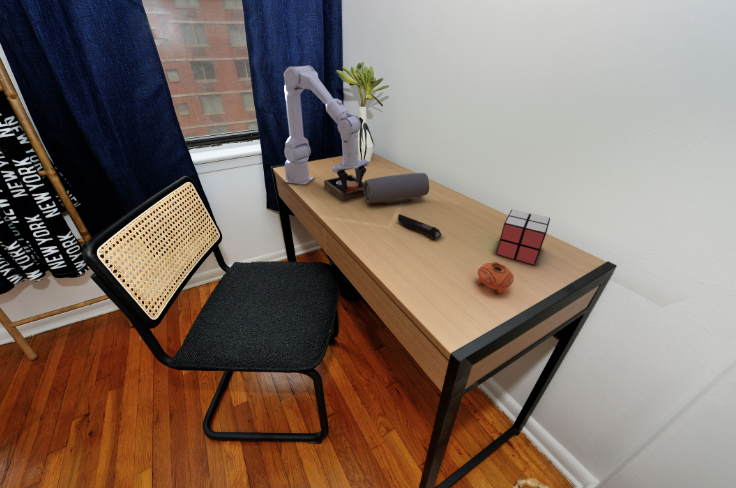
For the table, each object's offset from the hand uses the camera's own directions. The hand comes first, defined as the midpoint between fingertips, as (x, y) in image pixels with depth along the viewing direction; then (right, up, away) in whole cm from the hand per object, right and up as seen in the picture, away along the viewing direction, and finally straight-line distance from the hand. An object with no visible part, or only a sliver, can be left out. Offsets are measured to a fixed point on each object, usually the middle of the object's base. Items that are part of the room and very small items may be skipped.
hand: (351, 187), depth 119 cm
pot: (+36, -32, -44) cm, 66 cm away
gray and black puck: (-4, +1, +7) cm, 8 cm away
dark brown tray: (-2, -1, +4) cm, 5 cm away
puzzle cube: (+49, -24, -32) cm, 63 cm away
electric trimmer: (+22, -18, -22) cm, 36 cm away
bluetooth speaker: (+17, -6, -3) cm, 18 cm away
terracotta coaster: (0, -1, +1) cm, 1 cm away
